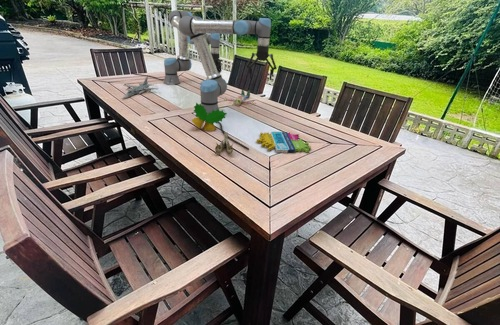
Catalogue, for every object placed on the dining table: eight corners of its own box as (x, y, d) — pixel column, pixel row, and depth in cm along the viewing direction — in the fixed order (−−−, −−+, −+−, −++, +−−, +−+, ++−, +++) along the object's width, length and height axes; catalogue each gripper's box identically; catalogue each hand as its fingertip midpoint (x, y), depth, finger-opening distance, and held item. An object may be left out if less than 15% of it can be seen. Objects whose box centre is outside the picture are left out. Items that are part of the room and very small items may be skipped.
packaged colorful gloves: (313, 150, 142) (258, 149, 139) (312, 153, 143) (258, 152, 140) (301, 132, 164) (254, 130, 161) (301, 134, 165) (254, 133, 162)
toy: (261, 91, 228) (254, 99, 202) (261, 99, 231) (253, 108, 205) (231, 87, 233) (220, 95, 207) (230, 95, 236) (219, 104, 210)
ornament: (218, 133, 171) (224, 110, 169) (221, 134, 163) (227, 111, 161) (186, 125, 162) (192, 101, 160) (189, 126, 155) (195, 101, 153)
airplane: (117, 88, 232) (115, 76, 227) (154, 85, 245) (152, 75, 240) (121, 101, 204) (118, 88, 199) (162, 97, 217) (161, 85, 212)
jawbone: (234, 135, 144) (233, 125, 135) (233, 160, 138) (232, 151, 129) (217, 135, 144) (216, 125, 135) (216, 160, 138) (214, 150, 129)
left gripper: (210, 54, 211) (210, 83, 222) (226, 52, 226) (225, 79, 238) (203, 53, 215) (204, 81, 226) (219, 51, 230) (219, 78, 241)
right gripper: (281, 46, 172) (277, 78, 183) (243, 43, 170) (242, 77, 181) (283, 47, 166) (279, 81, 176) (244, 44, 164) (242, 79, 174)
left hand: (215, 80), depth 232 cm, fingers closed on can, 8 cm apart
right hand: (260, 79), depth 178 cm, fingers open, 13 cm apart
